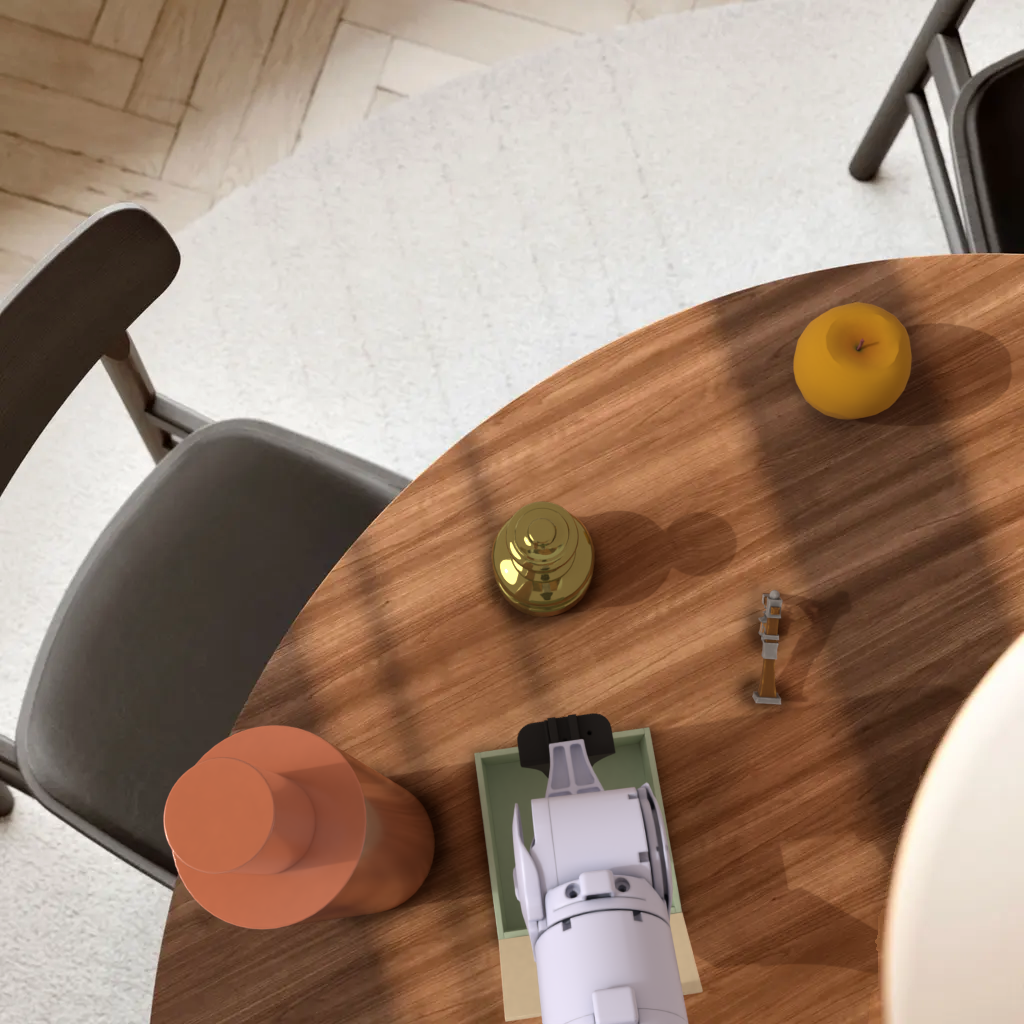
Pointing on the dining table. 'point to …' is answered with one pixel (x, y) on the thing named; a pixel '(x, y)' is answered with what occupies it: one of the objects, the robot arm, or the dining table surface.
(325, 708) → the dining table surface
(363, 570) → the dining table surface
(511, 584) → the brass weight
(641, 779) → the box
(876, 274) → the dining table surface
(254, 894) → the vase
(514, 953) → the door
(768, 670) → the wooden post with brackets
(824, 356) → the apple
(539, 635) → the dining table surface
